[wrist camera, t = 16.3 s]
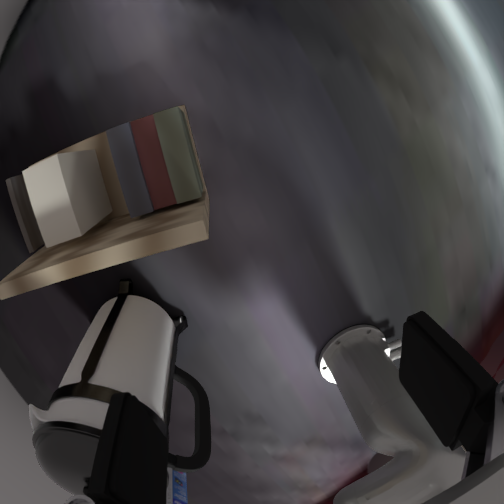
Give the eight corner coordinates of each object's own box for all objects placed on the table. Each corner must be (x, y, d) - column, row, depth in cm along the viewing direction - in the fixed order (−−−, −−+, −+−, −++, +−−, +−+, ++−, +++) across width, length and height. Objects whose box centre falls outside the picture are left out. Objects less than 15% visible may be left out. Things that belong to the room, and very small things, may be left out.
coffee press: (105, 364, 44) (59, 527, 16) (82, 277, 38) (-29, 447, 10) (208, 366, 46) (220, 548, 18) (201, 274, 40) (200, 497, 12)
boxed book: (94, 149, 31) (57, 153, 22) (112, 211, 34) (81, 235, 25) (64, 161, 31) (22, 171, 22) (82, 221, 34) (46, 248, 25)
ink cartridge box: (159, 477, 58) (157, 523, 44) (143, 468, 56) (139, 517, 42) (188, 469, 57) (189, 519, 44) (172, 460, 55) (171, 512, 42)
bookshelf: (185, 106, 33) (166, 81, 18) (209, 200, 37) (208, 238, 23) (34, 165, 32) (-41, 185, 17) (60, 246, 36) (1, 299, 22)
